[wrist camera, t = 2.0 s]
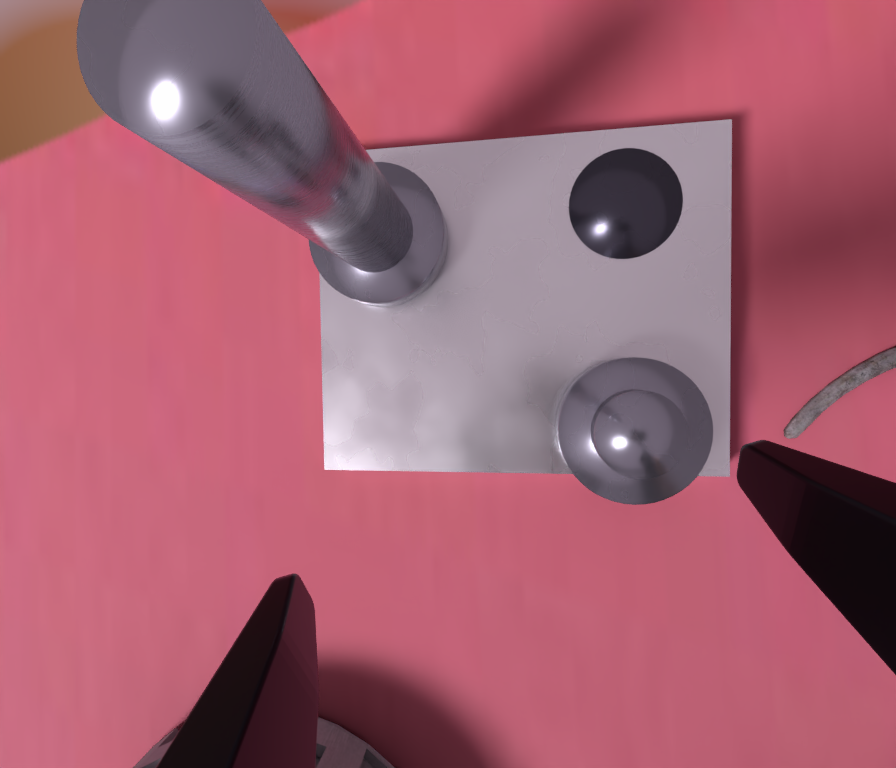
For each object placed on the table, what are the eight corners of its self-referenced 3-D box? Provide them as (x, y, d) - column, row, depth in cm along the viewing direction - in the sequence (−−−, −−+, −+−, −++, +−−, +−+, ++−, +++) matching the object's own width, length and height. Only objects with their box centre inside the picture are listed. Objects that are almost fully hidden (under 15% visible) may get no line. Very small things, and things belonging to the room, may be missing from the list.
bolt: (449, 304, 20) (332, 198, 7) (324, 308, 21) (22, 219, 8) (447, 172, 20) (323, -177, 7) (321, 181, 21) (7, -118, 8)
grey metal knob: (697, 495, 19) (724, 514, 17) (555, 492, 20) (561, 510, 17) (698, 356, 19) (725, 355, 16) (554, 359, 20) (560, 358, 17)
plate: (717, 474, 20) (730, 481, 19) (334, 468, 22) (324, 474, 21) (718, 134, 20) (732, 118, 18) (327, 165, 22) (316, 153, 21)
